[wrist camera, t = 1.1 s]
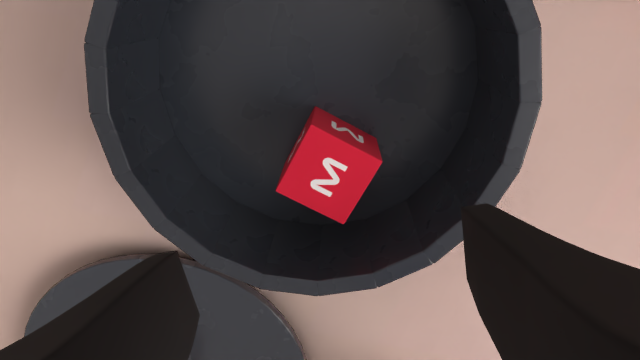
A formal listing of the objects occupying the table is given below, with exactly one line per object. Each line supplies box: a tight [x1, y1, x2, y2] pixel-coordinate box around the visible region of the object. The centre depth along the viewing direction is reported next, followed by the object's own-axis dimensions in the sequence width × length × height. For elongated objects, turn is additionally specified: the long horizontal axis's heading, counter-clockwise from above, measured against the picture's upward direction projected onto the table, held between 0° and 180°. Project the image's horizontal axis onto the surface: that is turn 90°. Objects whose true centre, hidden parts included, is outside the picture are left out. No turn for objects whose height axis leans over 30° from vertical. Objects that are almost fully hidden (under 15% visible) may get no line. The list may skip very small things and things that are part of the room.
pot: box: [84, 0, 542, 296], centre depth 16 cm, size 14×14×5 cm
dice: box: [275, 106, 383, 224], centre depth 18 cm, size 3×3×3 cm
